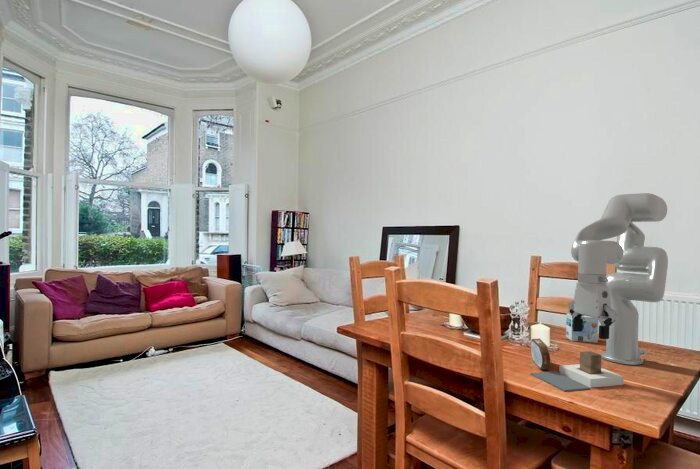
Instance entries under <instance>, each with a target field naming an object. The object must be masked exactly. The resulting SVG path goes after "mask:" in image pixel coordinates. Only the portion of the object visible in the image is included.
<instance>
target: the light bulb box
mask: <svg viewBox="0 0 700 469" xmlns="http://www.w3.org/2000/svg"><path fill="white" fill-rule="evenodd" d="M571 316H572V315H571V313H570V312H569V313H566V320H565V321H566V323H565V324H566V326H565V331H566V332H565V337H566V338H567V339H569V341H571V342H583V343H596V344H597V343H598V339H599V320H598V319H597V318H594V317H589V316H585V315H583V316H582V317H581V319H583V331H578V332H575V331H573V318H572V317H571Z"/></svg>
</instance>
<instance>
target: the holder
mask: <svg viewBox="0 0 700 469" xmlns="http://www.w3.org/2000/svg"><path fill="white" fill-rule="evenodd" d="M558 368H559V369H558V370H559V371H558V373H559V374H561V375H564V376H566V377H568V378H570V379H572V380H575V381H577V382H579V383H581V384H583V385H585V386H588V387H590V389H591V388H601V387H614V386H615V387H616V386H623V385H624V376H623V375H621V374H619V373H616V372H613V371H611V370H608V369H605V368H603V367H601V374H591V375H590V374H588V373H586V372H583V371H581V370H580V363H578V364H576V363H575V364H566V365H565V364H564V365H563V364H562V365H559V367H558Z"/></svg>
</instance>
